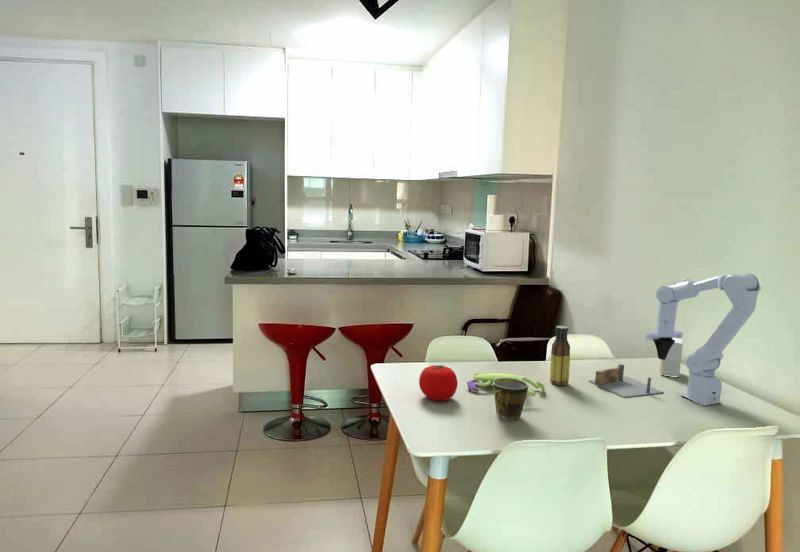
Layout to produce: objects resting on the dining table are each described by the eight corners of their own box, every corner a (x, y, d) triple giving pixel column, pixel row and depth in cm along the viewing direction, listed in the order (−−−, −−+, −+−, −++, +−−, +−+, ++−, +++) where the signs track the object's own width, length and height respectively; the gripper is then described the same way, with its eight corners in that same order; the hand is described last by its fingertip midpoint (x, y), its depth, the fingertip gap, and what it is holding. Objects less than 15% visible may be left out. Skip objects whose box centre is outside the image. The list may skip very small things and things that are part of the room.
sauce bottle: (566, 381, 215) (571, 325, 212) (569, 387, 209) (575, 329, 206) (547, 379, 216) (552, 324, 213) (550, 385, 209) (554, 328, 206)
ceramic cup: (501, 407, 187) (504, 375, 185) (531, 416, 181) (534, 383, 179) (478, 419, 177) (480, 385, 175) (509, 429, 171) (512, 394, 169)
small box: (659, 370, 234) (663, 336, 232) (677, 372, 232) (681, 338, 230) (660, 376, 226) (664, 341, 224) (679, 378, 224) (683, 343, 222)
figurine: (527, 410, 187) (529, 392, 186) (453, 388, 203) (454, 372, 202) (553, 395, 201) (554, 378, 201) (481, 376, 217) (482, 360, 216)
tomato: (464, 401, 190) (466, 368, 189) (432, 407, 184) (434, 373, 183) (441, 389, 200) (443, 358, 199) (411, 395, 194) (412, 362, 193)
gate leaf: (615, 379, 217) (617, 367, 216) (618, 380, 216) (619, 368, 215) (594, 383, 211) (596, 371, 210) (597, 384, 210) (598, 372, 209)
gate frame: (588, 381, 216) (590, 364, 215) (626, 377, 223) (628, 361, 222) (623, 397, 201) (625, 379, 200) (663, 393, 207) (665, 375, 206)
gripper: (672, 316, 218) (668, 354, 220) (641, 318, 213) (636, 357, 215) (689, 321, 212) (684, 359, 214) (656, 323, 206) (652, 362, 208)
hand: (661, 358), depth 214 cm, fingers closed
